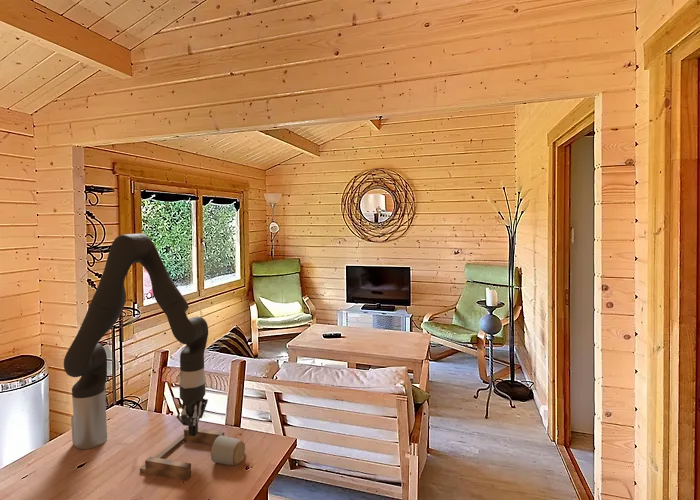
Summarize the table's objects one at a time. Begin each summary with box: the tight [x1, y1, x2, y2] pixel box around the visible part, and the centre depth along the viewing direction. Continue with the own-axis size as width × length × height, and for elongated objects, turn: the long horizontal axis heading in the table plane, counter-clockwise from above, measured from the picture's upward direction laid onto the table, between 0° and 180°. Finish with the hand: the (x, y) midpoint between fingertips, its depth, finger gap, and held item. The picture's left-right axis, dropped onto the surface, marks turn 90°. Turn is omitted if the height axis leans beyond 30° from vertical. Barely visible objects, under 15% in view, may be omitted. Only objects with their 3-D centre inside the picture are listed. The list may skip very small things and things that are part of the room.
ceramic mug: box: [210, 435, 246, 466], centre depth 128 cm, size 11×8×8 cm
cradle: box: [139, 426, 225, 482], centre depth 129 cm, size 16×20×4 cm
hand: (193, 435), depth 130 cm, fingers closed
